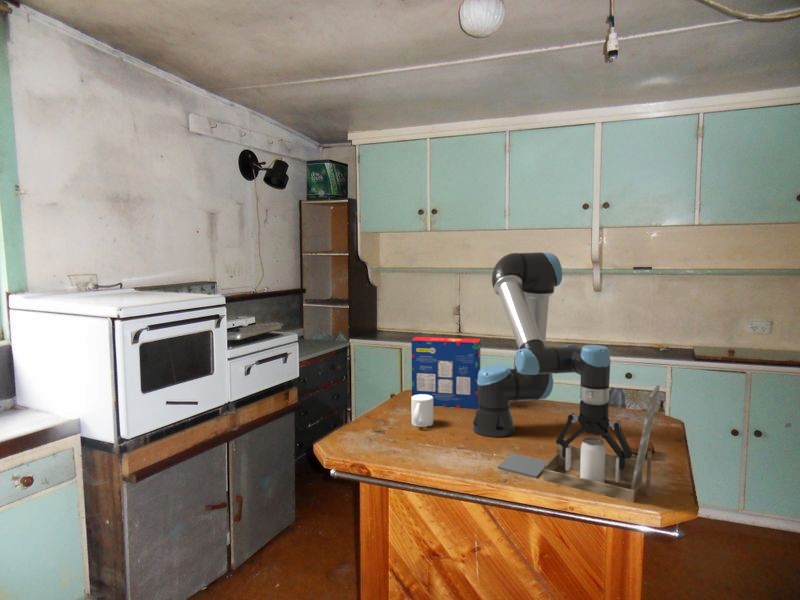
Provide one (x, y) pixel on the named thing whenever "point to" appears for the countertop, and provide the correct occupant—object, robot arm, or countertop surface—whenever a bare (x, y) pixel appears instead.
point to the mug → (422, 410)
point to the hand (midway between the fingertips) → (592, 474)
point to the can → (592, 459)
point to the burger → (635, 444)
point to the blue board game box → (446, 370)
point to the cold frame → (609, 465)
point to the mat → (523, 465)
